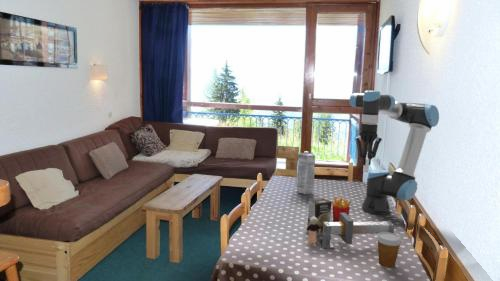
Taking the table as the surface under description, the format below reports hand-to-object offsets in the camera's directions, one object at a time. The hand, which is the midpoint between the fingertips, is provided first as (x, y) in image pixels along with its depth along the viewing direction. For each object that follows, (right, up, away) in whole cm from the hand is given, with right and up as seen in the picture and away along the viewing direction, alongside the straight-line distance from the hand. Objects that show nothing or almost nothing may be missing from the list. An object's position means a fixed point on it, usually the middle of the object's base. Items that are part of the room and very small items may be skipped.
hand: (365, 171), depth 193 cm
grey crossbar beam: (-8, -32, -14) cm, 36 cm away
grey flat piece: (-14, -29, -15) cm, 35 cm away
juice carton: (-21, -19, +64) cm, 70 cm away
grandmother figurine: (-28, -31, -14) cm, 44 cm away
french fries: (-10, -28, +9) cm, 31 cm away
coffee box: (-23, -30, -2) cm, 38 cm away
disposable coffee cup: (-1, -35, -32) cm, 48 cm away
